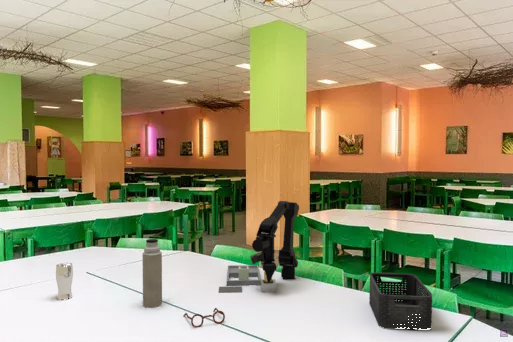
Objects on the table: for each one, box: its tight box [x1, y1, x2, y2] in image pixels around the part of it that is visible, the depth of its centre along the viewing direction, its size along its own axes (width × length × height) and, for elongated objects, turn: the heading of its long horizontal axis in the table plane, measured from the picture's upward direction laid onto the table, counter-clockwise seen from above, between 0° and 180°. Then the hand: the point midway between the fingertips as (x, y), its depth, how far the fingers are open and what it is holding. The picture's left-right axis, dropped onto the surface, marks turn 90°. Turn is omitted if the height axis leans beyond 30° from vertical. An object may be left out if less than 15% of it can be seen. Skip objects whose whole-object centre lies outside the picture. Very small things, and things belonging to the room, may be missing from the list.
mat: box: [217, 286, 243, 294], centre depth 198 cm, size 11×8×1 cm
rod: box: [263, 270, 273, 283], centre depth 198 cm, size 4×4×8 cm
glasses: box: [183, 307, 226, 328], centre depth 162 cm, size 13×13×5 cm
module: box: [238, 266, 250, 280], centre depth 211 cm, size 5×5×8 cm
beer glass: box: [55, 262, 74, 300], centre depth 186 cm, size 7×7×15 cm
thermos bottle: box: [142, 238, 163, 309], centre depth 178 cm, size 8×8×28 cm
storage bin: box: [368, 272, 433, 329], centre depth 166 cm, size 29×19×13 cm
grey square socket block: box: [259, 278, 277, 293], centre depth 198 cm, size 7×7×4 cm
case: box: [225, 264, 262, 287], centre depth 219 cm, size 17×30×2 cm, turn 3°
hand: (268, 280), depth 198 cm, fingers open, 6 cm apart
